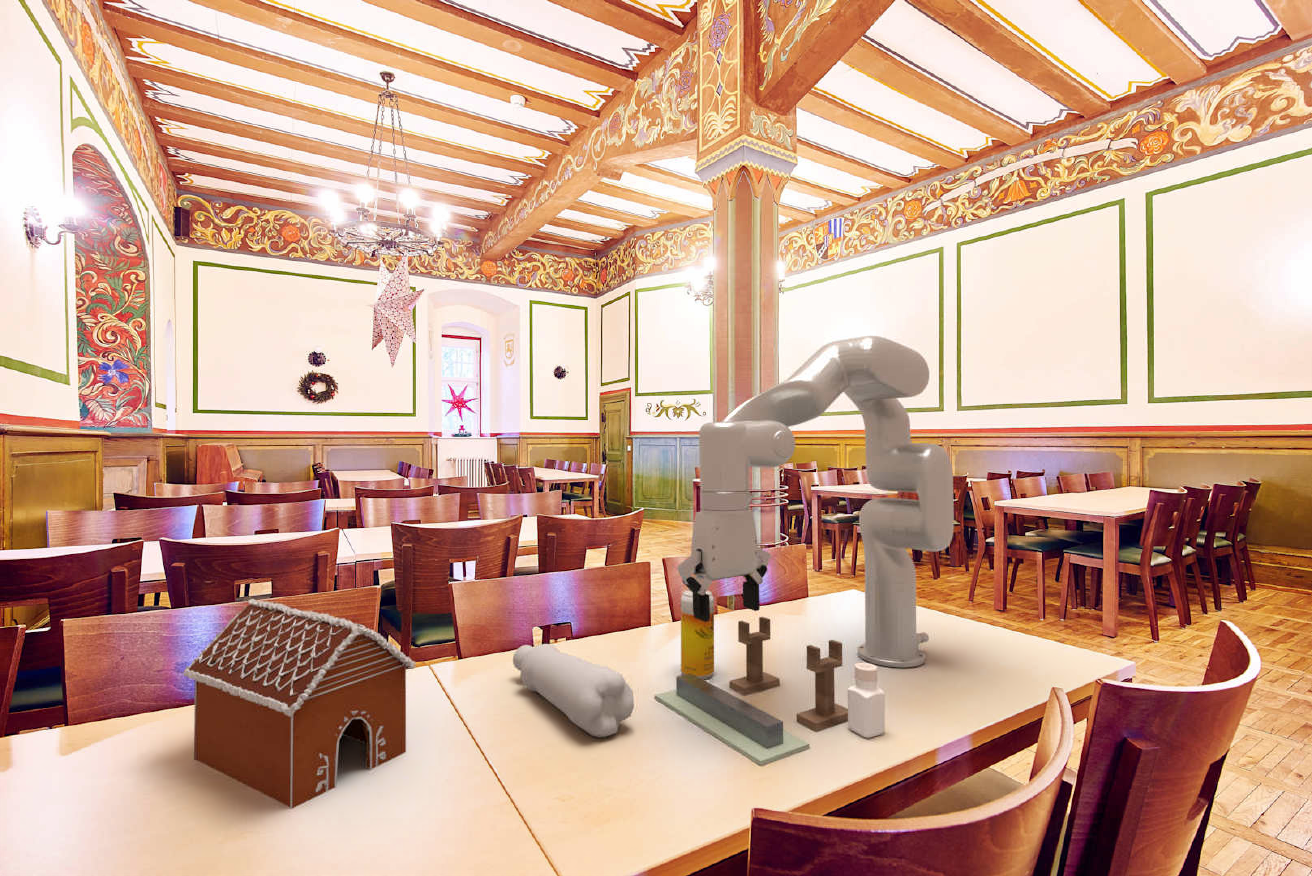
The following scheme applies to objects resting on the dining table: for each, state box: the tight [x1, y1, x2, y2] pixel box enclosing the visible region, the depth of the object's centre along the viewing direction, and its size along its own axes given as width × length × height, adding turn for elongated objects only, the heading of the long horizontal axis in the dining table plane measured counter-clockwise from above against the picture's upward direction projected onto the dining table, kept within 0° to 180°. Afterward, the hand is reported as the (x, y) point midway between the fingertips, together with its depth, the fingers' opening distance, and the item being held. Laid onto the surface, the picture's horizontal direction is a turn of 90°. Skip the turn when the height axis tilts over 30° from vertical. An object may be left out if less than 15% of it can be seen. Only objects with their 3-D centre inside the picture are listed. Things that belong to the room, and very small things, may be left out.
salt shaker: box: [847, 662, 886, 739], centre depth 91 cm, size 4×4×10 cm
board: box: [654, 689, 811, 766], centre depth 94 cm, size 9×26×1 cm, turn 32°
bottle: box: [512, 643, 635, 738], centre depth 100 cm, size 9×9×30 cm
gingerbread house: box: [182, 598, 416, 810], centre depth 84 cm, size 18×26×20 cm
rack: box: [728, 616, 848, 732], centre depth 101 cm, size 8×20×12 cm, turn 32°
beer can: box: [680, 589, 715, 680], centre depth 114 cm, size 6×6×15 cm
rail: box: [675, 673, 784, 749], centre depth 94 cm, size 22×3×3 cm, turn 32°
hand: (727, 614), depth 95 cm, fingers open, 9 cm apart
